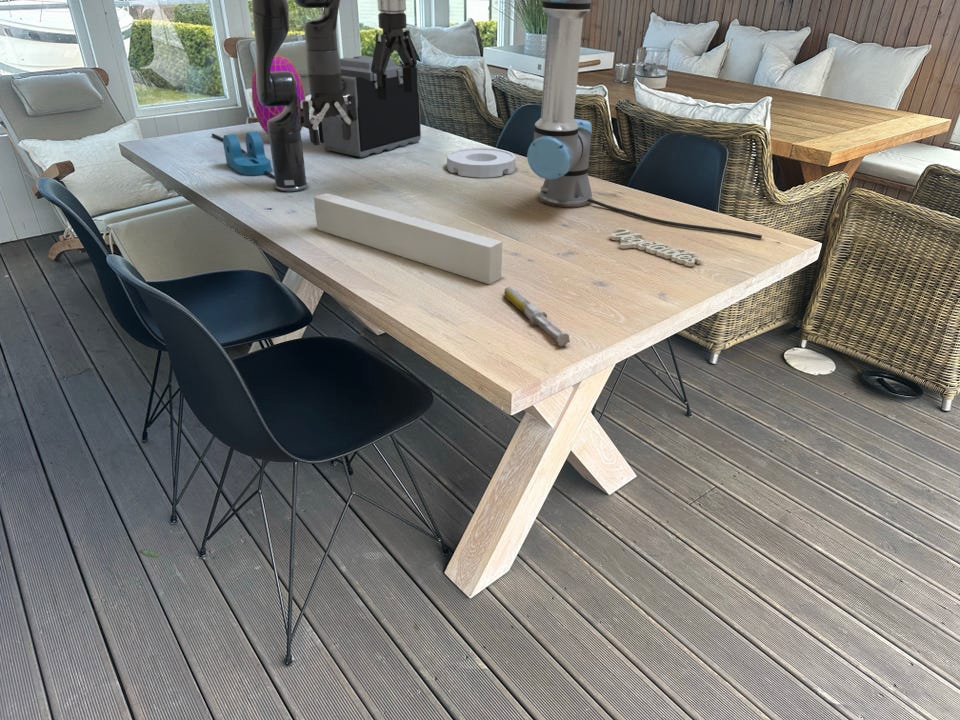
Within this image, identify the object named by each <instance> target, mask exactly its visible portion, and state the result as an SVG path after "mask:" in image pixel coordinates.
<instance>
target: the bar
mask: <svg viewBox="0 0 960 720" xmlns="http://www.w3.org/2000/svg"><path fill="white" fill-rule="evenodd" d="M313 205H314V214H315V221H316V229H317V231H321V232H324V233H327V234H330V235H334V236H337V237H339V238H342V239H345V240H349V241H352V242H355V243H358V244H362V245H365V246H368V247H371V248H374V249H377V250H381V251H383V252H386V253H389V254H392V255H396V256H399V257H402V258H406V259H408V260H412V261H415V262H417V263H421V264H424V265H427V266H430V267H433V268H437V269H439V270H443V271H446V272H449V273H453V274H455V275H458V276H462V277H465V278H468V279H471V280H474V281H477V282H480V283H484V284H486V285H491V284H493V283H495V282H497V281H499V280H501V279H502V261H503V260H502V259H503V241H501V240H497V239H494V238H491V237H487V236H482V235H480V234H476V233H472V232H468V231H465V230H461V229H458V228H454V227H451V226H447V225H443V224H439V223H436V222H433V221H429V220H425V219H422V218H418V217H414V216H411V215H408V214H404V213H400V212H396V211H393V210H389V209H386V208H382V207H379V206H375V205H371V204H368V203H363V202H360V201H356V200H353V199H350V198H346V197H343V196H339V195H335V194H332V193H327V192H326V193H322V194H320V195H319V194H318V195H316V196H313Z"/></svg>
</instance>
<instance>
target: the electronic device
mask: <svg viewBox="0 0 960 720" xmlns="http://www.w3.org/2000/svg"><path fill="white" fill-rule="evenodd" d="M372 61H373V56H367V55H356V56H353V57H350V58H349V57H343V58H342V57H341V58H340V66H341V78H342V89H343V90H342V95H343V96H345V95H346V94H350V95H354V97H355V104H356V112H357V120H356V121H353V122H351V124H350V126H351V137H350V140H347V141H346V140H344V139H343V135H342V124H343V122H342V121H341V120H340V119H339V118H338V117H337V116H335V117H333V116H330V117H328V118H324V117H323V119H322V121H321V122H320V123H319V125H318V127H317V130H318V135H319V144H323V146H324V149H325V150H327V151H330V152H335V153H340V154H344V155H348V156H353V157H357V158H362V159H363V158H366V157H367V158H368V157H369V155H371V154H375V155H377V154H381V153H382V152H383V151H391V150H395V149H396V148H397V147H405V146H407V145H408V144H416V143H418V142H419V141H421V137H422V128H421V97H420V92H419V91H420V89H419V68H418V67H417V66H416V67H415V68H412V74H413V92H404V82H403V68H406V67H405V66H404V65H400V64H396V62H395V60H394V59H393V58H390V59H389V62H388V65H387V67H386V70H385V73H384V74H387V89H388V100H383V99H378V86H377V75H376V74H373V72H371V66H372ZM375 68H376V67H375ZM342 108H343V110H344V111H345V112H346V114H347V108H346V104H345V103H343V105H342Z"/></svg>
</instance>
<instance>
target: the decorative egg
mask: <svg viewBox="0 0 960 720" xmlns="http://www.w3.org/2000/svg"><path fill="white" fill-rule="evenodd" d="M253 70H254V71H253V73H252V77H251V101H252V107H253V110H254V114H255V116H256V118H257V121H258V123H259V125H260V127H261V128H262V130H263V131H264V133H266V135H267V136H269V134H268V127H267V122H268V120H269V119H271V118H273V117H275V116H277V115H279V114H280V113H281V112H282V111H283V110H284V108H285V106H274V107H265V106H263V105H261V103H260V102H259V99H258V96H257V89H256V66H255V68H254V69H253ZM278 71H289V72H291V73H292V74H293V76H294V78H295V81H296V86H297V99H298V112H299V100H305V101H306V99H307V97H306V93H305V88H304V84H303V81H302V77H301V75H300V73H299V71H298V69H297V67H296V66H295V65H294V63H293V62H292V61H291V60H290V59H288V58H287V57H285V56H282V55H280V54H275V56H274V58H273V61H272V64H271V69H270V72H278ZM299 124H300V114H299ZM302 129H303V127H302V126H301V125H300V132H301V131H302Z"/></svg>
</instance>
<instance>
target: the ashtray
mask: <svg viewBox="0 0 960 720" xmlns="http://www.w3.org/2000/svg"><path fill="white" fill-rule="evenodd" d="M516 161H517V156H516V155H515V153H513V152H511V151H508V150H506V149H505V150H504V149H499V148H492V147H468V148H459V149H456V150H452V151H451V152H448V153H447V154H446V168H447V171H449V172H450V173H451V174H457V175H458V176H462V177H467V178H479V179H480V178H481V179H482V178H498V177H503V175H510V174H512V173H514V172H515V170H516V167H517V165H516V163H517V162H516Z"/></svg>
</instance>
